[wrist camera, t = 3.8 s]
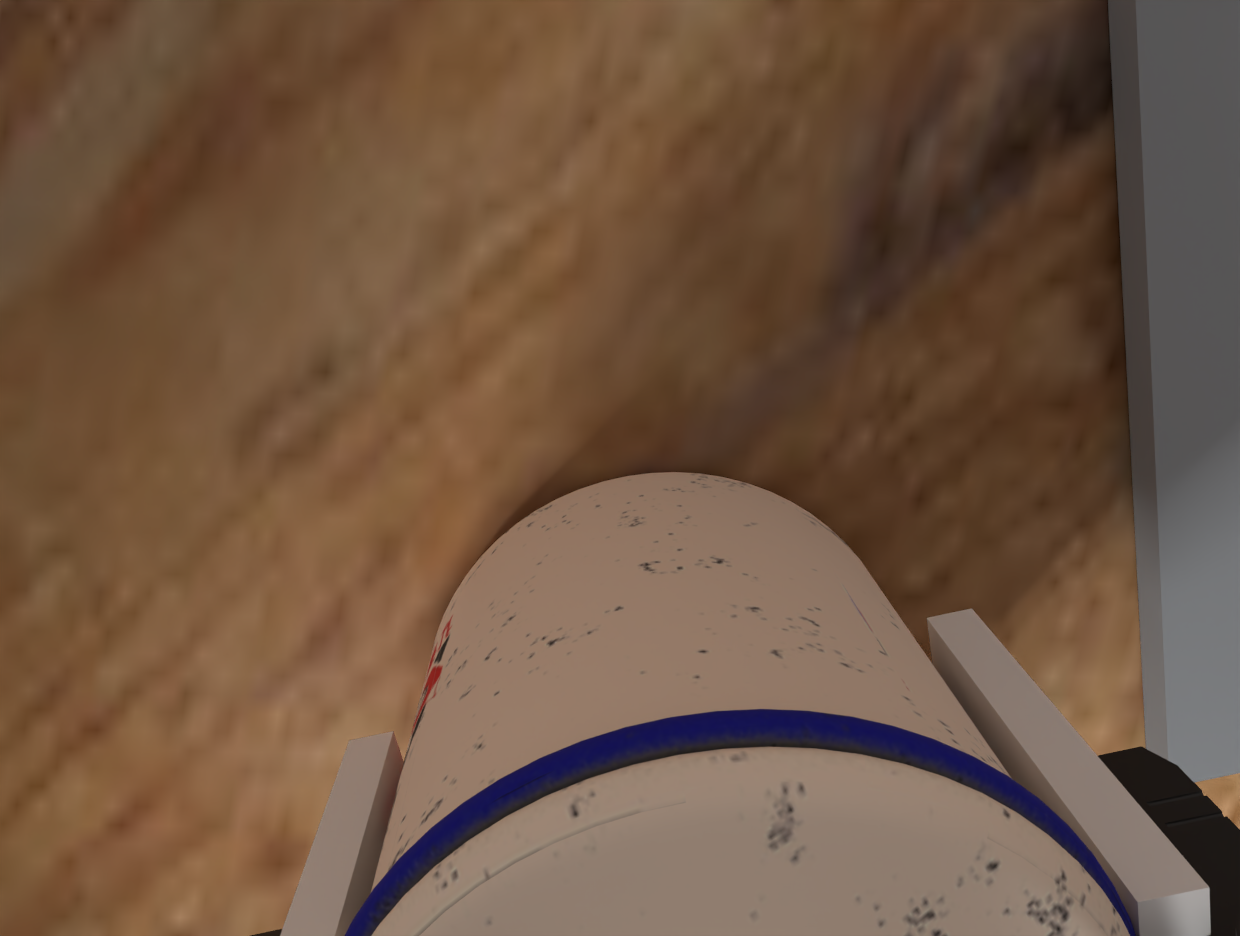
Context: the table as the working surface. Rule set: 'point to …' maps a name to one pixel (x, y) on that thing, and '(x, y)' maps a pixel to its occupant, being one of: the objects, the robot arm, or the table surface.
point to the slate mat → (1183, 362)
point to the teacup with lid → (705, 746)
